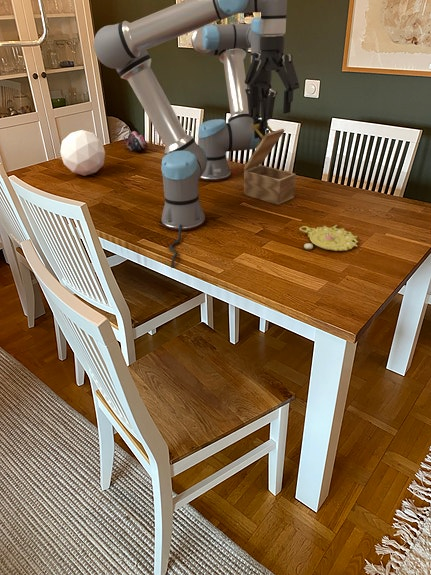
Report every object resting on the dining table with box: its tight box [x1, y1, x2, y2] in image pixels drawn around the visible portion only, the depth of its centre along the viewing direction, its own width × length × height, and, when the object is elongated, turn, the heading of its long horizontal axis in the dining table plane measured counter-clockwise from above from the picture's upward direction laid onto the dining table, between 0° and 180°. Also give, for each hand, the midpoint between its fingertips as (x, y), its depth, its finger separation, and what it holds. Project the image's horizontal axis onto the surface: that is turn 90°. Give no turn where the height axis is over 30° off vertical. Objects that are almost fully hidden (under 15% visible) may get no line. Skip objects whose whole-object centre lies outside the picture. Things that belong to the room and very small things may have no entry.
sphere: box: [59, 129, 106, 177], centre depth 200 cm, size 19×20×20 cm
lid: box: [242, 121, 285, 171], centre depth 168 cm, size 18×10×8 cm
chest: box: [243, 164, 297, 206], centre depth 172 cm, size 17×10×10 cm, turn 45°
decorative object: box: [299, 224, 359, 252], centre depth 141 cm, size 21×2×20 cm
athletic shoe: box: [121, 130, 149, 153], centre depth 234 cm, size 11×22×12 cm
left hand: (269, 110), depth 144 cm, fingers open, 13 cm apart
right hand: (259, 138), depth 167 cm, fingers closed on lid, 2 cm apart
